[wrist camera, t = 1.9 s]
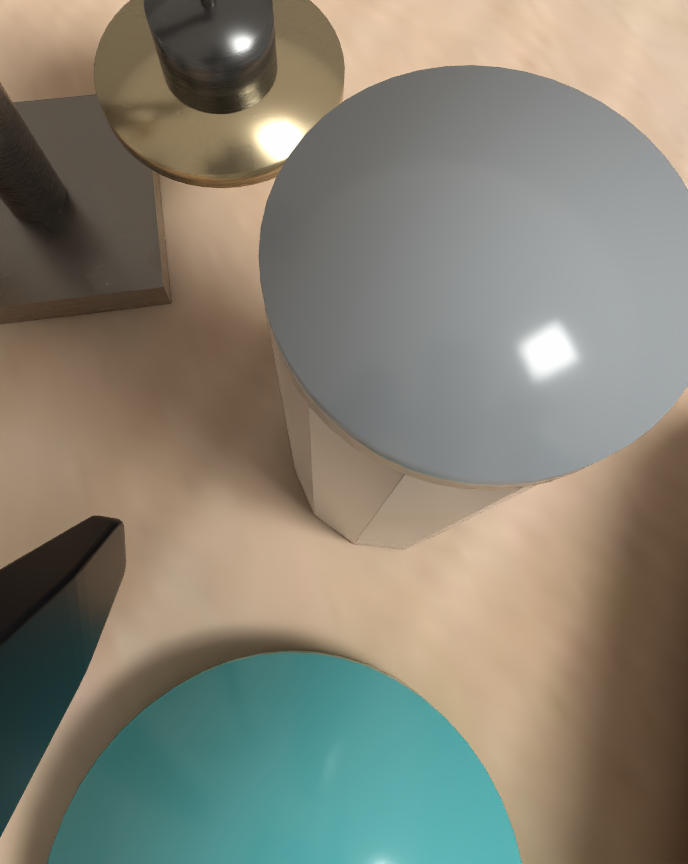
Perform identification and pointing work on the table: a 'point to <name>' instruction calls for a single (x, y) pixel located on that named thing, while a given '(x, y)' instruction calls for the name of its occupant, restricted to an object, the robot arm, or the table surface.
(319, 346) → the cup
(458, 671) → the table surface
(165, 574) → the table surface
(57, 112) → the balance
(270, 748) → the dish
